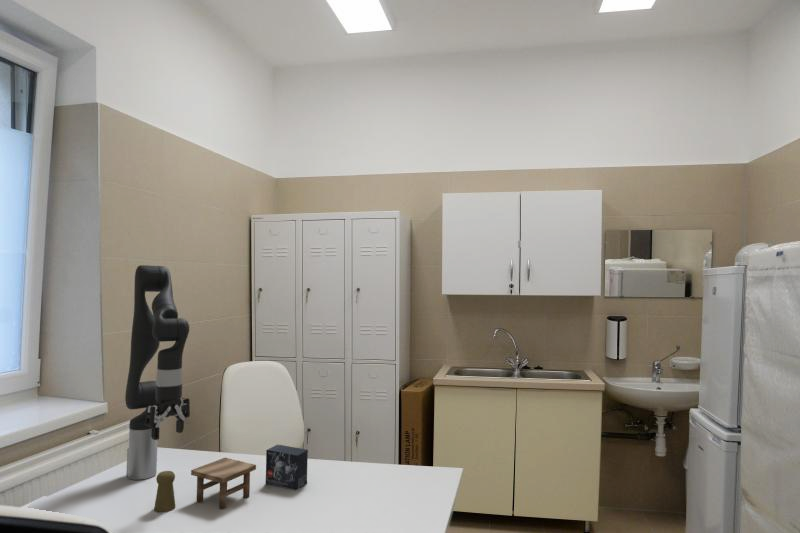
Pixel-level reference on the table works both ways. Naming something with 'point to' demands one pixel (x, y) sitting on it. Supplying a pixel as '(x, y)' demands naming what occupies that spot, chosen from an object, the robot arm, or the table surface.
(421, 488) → the table surface
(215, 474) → the stool
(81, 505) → the table surface
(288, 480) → the small box
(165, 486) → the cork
